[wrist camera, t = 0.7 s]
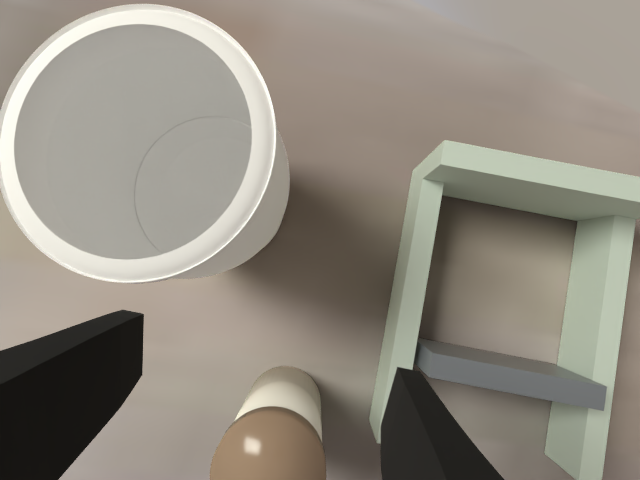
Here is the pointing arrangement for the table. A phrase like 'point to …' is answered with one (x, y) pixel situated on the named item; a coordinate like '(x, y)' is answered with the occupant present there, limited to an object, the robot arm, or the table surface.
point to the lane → (584, 282)
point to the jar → (143, 148)
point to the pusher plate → (507, 374)
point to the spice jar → (275, 432)
